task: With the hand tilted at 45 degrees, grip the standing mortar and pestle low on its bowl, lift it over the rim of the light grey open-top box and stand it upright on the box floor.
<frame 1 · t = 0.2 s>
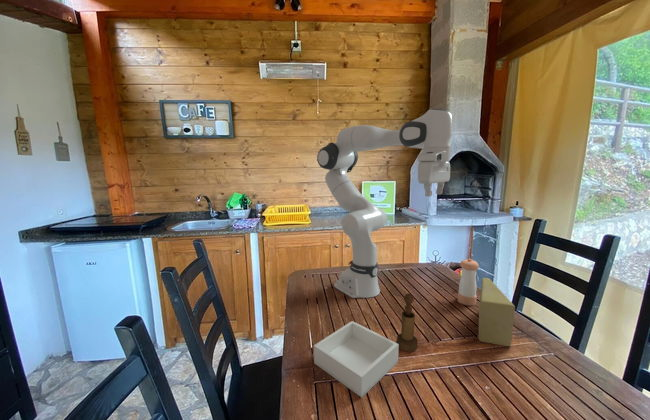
hand: (433, 195, 101), 48 cm above the table, tool pointing down, fingers open, 8 cm apart
open box: (356, 362, 84), on the table
cheese: (487, 326, 102), on the table
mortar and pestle: (406, 345, 92), on the table
pepper shaker: (466, 301, 120), on the table
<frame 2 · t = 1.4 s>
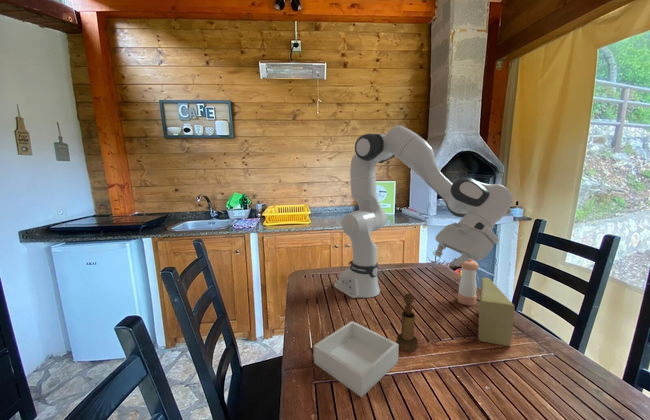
hand: (445, 259, 90), 28 cm above the table, tool tilted 45°, fingers open, 8 cm apart
nothing on the table moved.
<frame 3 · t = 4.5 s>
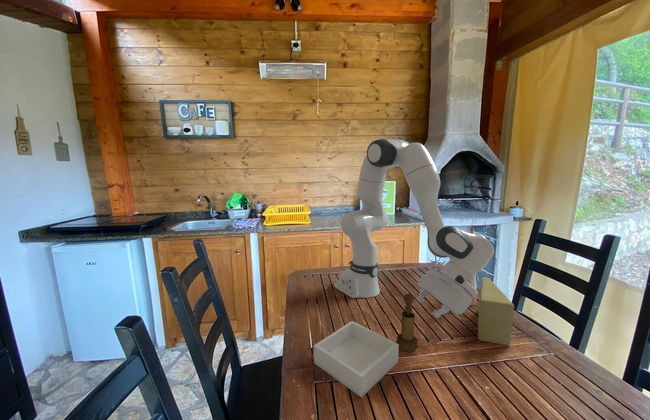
hand: (426, 308, 91), 12 cm above the table, tool tilted 45°, fingers open, 8 cm apart
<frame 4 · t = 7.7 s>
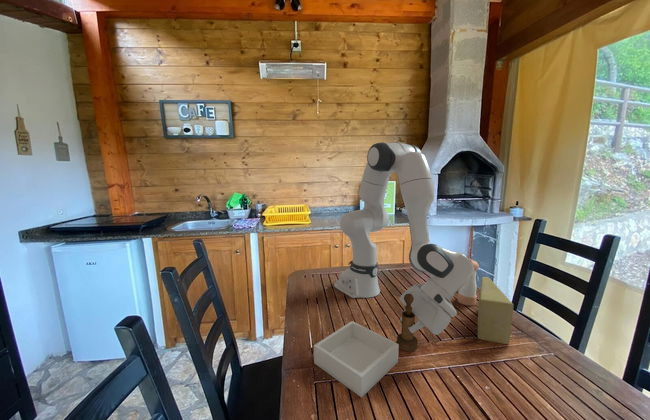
hand: (406, 326, 91), 7 cm above the table, tool tilted 45°, fingers closed on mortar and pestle, 4 cm apart
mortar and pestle: (407, 345, 92), on the table, touching gripper
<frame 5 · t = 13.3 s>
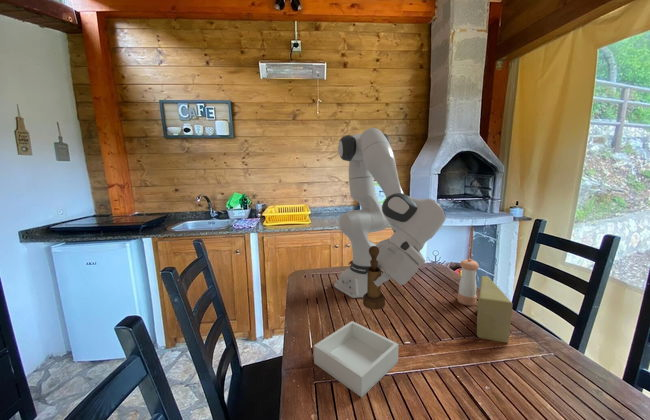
hand: (371, 280, 82), 25 cm above the table, tool tilted 45°, fingers closed on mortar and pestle, 4 cm apart
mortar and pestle: (373, 304, 84), point 18 cm above the table, touching gripper
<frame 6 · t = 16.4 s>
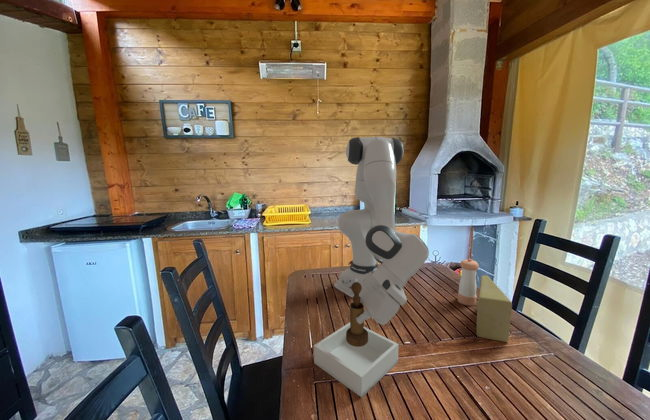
hand: (354, 316, 82), 15 cm above the table, tool tilted 45°, fingers closed on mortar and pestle, 4 cm apart
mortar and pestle: (357, 340, 83), point 7 cm above the table, touching gripper
when the fingers open (9 cm above the table, at t = 18.8 s): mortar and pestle stays where it is, resting on open box.
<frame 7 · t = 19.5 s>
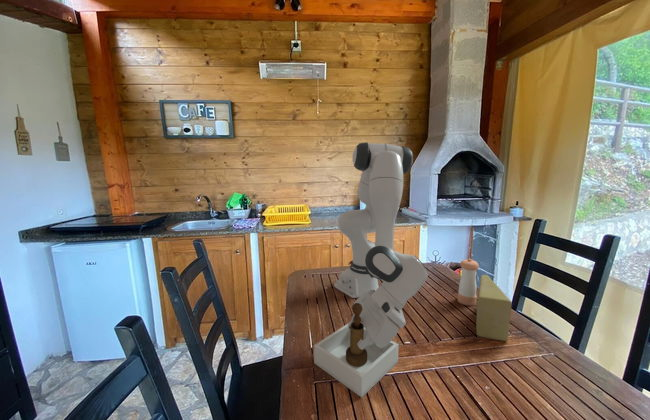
hand: (354, 337, 83), 9 cm above the table, tool tilted 45°, fingers open, 8 cm apart
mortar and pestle: (356, 359, 84), point 1 cm above the table, touching open box
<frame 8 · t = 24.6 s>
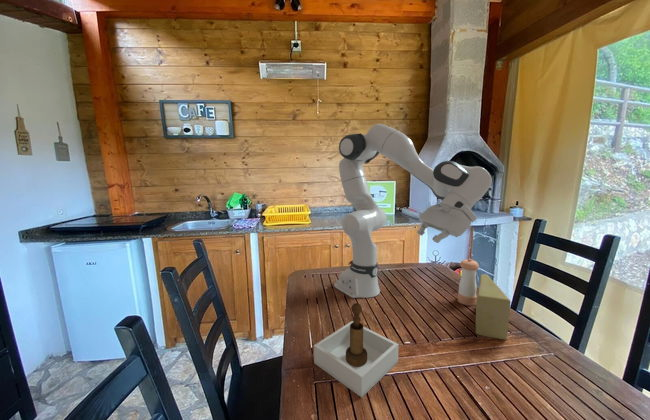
hand: (426, 237, 94), 34 cm above the table, tool tilted 45°, fingers open, 8 cm apart
at the end: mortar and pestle inside the target area on the open box (0.2 cm from its centre), point 0.8 cm above the open box's base; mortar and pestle tilted 0°; the gripper is holding nothing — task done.
